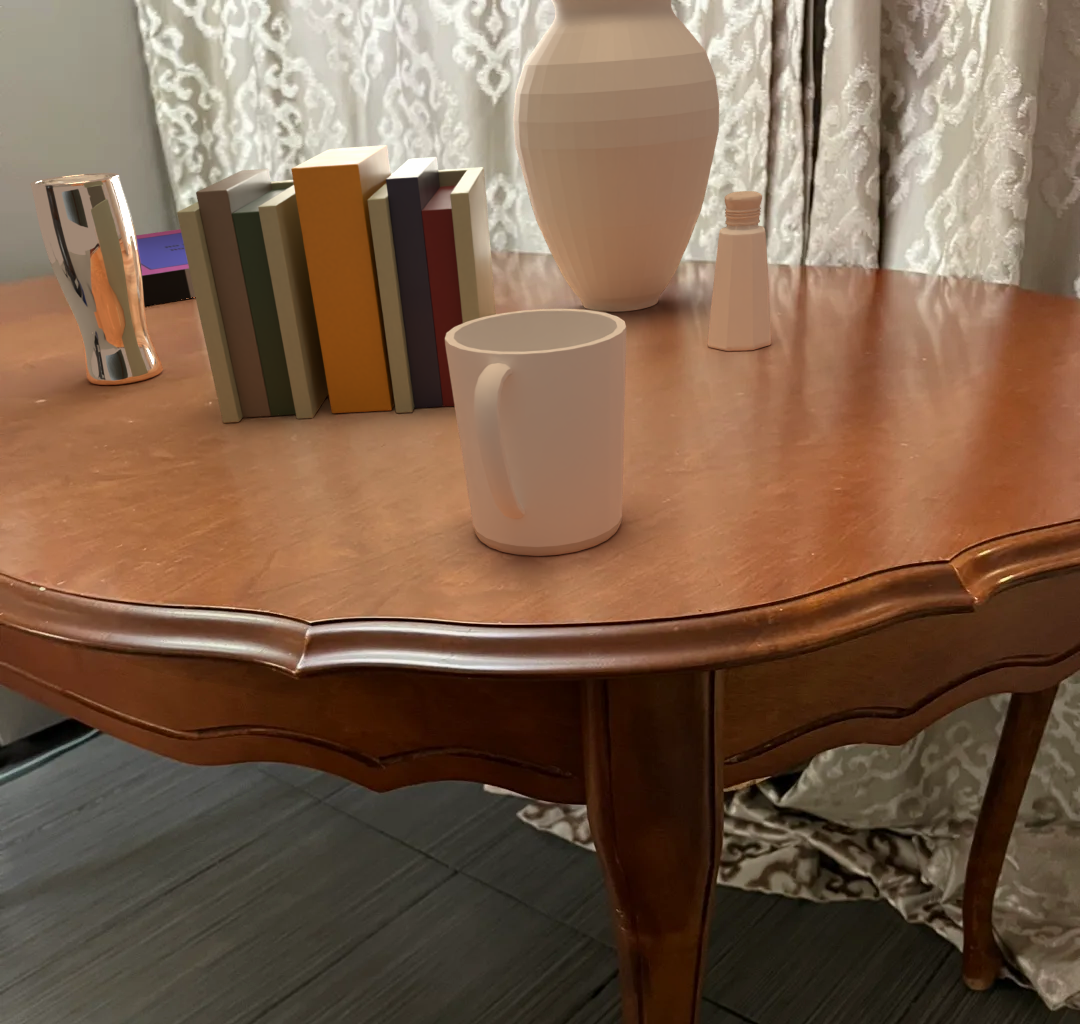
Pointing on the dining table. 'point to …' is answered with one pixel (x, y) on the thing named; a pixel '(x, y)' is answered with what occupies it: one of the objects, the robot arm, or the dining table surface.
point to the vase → (616, 145)
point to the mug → (541, 426)
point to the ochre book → (346, 273)
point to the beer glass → (98, 272)
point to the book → (164, 267)
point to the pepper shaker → (741, 279)
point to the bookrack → (286, 298)
